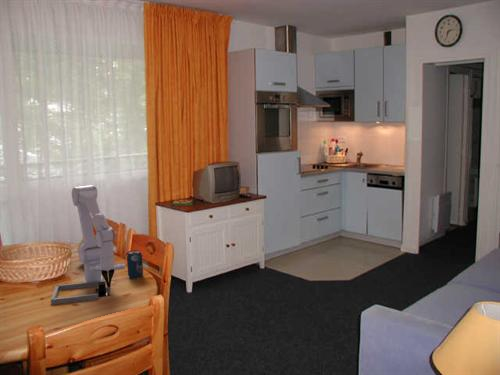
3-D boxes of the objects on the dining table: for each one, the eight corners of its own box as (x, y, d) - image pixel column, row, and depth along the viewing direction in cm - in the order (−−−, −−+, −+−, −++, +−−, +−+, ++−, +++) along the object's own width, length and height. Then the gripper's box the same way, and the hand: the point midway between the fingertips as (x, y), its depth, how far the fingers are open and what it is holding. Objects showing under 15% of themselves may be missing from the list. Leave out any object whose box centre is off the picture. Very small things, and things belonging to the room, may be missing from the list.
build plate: (111, 297, 205) (110, 286, 204) (93, 299, 203) (92, 289, 202) (111, 287, 217) (110, 277, 216) (94, 289, 215) (93, 279, 214)
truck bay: (56, 289, 214) (56, 285, 214) (99, 284, 219) (99, 280, 218) (51, 304, 197) (50, 299, 197) (98, 299, 202) (97, 294, 202)
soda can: (141, 279, 225) (139, 254, 223) (126, 279, 225) (124, 254, 223) (144, 274, 232) (143, 249, 230) (130, 274, 232) (128, 249, 230)
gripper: (88, 260, 203) (90, 291, 205) (124, 257, 207) (126, 287, 209) (89, 255, 210) (91, 285, 212) (124, 252, 214) (126, 282, 216)
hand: (108, 286), depth 211 cm, fingers closed
